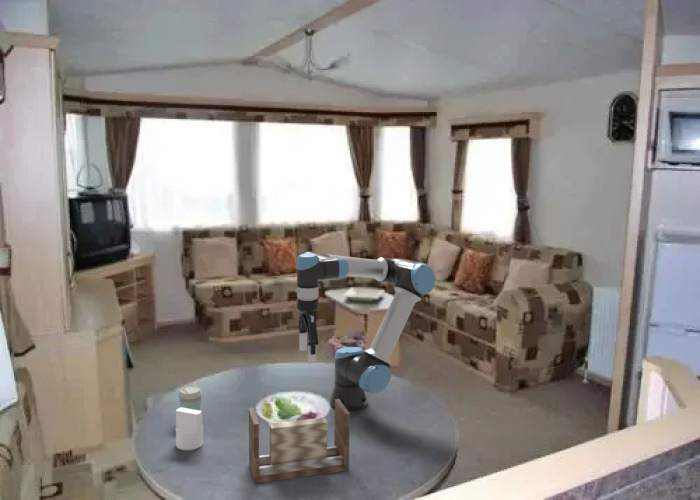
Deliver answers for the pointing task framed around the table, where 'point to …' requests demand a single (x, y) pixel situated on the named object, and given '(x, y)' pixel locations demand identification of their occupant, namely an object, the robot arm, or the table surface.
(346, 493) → the table surface
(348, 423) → the wooden rack
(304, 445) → the door panel
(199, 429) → the white block
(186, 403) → the coffee cup
